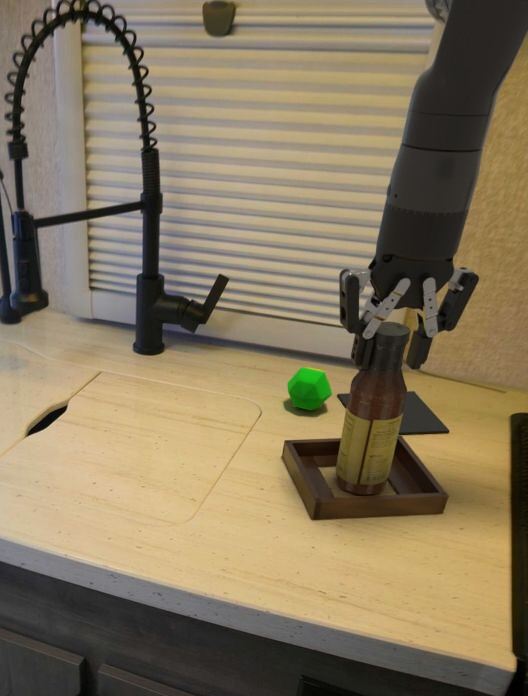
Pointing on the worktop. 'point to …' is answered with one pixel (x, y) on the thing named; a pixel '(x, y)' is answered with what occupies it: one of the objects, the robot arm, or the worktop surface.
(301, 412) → the worktop surface
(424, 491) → the picture frame
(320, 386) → the green faceted block
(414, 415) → the rubber mat
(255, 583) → the worktop surface
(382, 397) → the sauce bottle
